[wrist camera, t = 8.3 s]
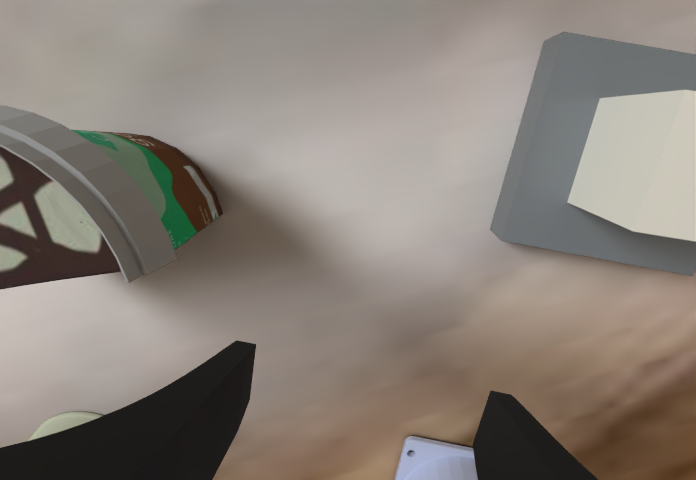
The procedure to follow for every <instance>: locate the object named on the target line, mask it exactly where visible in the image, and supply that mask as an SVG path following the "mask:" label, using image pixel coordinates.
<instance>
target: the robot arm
mask: <svg viewBox="0 0 696 480" xmlns="http://www.w3.org/2000/svg"><path fill="white" fill-rule="evenodd" d="M255 349H256V344H252V343H246V342H241V341H235V342H234V343H232V344H231V345H229V346H228V347H226V348H225V349H223V350H222V351H220V352H219V353H218V354H216V355H215V356H213V357H212V358H210V359H209V360H207V361H206V362H205V363H203V364H201V365H200V366H198V367H197V368H195V369H194V370H192V371H191V372H189V373H188V374H186V375H184V376H183V377H181V378H179V379H178V380H176V381H174V382H173V383H171V384H169V385H168V386H166V387H164V388H162V389H161V390H159V391H157V392H155V393H153V394H151V395H149V396H147V397H145V398H143V399H141V400H139V401H137V402H135V403H133V404H130V405H128V406H126V407H124V408H122V409H119V410H117V411H114V412H112V413H109V414H107V415H104V416H101V417H99V418H96V419H94V420H91V421H89V422H86V423H84V424H81V425H78V426H75V427H72V428H69V429H66V430H63V431H60V432H57V433H53V434H50V435H47V436H44V437H40V438H37V439H33V440H30V441H26V442H22V443H18V444H14V445H10V446H6V447H2V448H0V480H212V479H213V477H214V475H215V473H216V471H217V470H218V468H219V466H220V464H221V462H222V460H223V458H224V456H225V454H226V452H227V451H228V449H229V447H230V445H231V443H232V441H233V439H234V437H235V435H236V433H237V431H238V429H239V426H240V424H241V421H242V419H243V416H244V413H245V411H246V408H247V405H248V403H249V400H250V391H251V383H252V374H253V366H254V358H255ZM409 450H413V452H409ZM394 480H598V479H597V478H596V477H595V476H593V475H592V474H591V473H590V472H589V471H588V470H587V469H586V468H585V467H584V466H583V465H581V464H580V463H579V462H578V461H577V460H576V459H575V458H574V457H573V456H572V455H571V454H570V453H569V452H568V451H567V450H566V449H565V448H564V447H563V446H562V445H561V444H560V443H559V442H558V441H557V440H556V439H555V438H554V437H553V436H552V435H551V434H550V433H549V432H548V431H547V430H546V429H545V428H544V427H543V426H542V425H541V424H540V423H539V422H538V421H537V420H536V419H535V418H534V417H533V416H532V415H531V414H530V413H529V412H528V411H527V410H526V409H525V408H524V407H523V406H522V405H521V404H520V403H519V402H518V401H517V400H516V399H515V398H514V397H513V396H512V395H510V394H505V393H500V392H495V391H490V394H489V397H488V400H487V403H486V406H485V409H484V412H483V415H482V418H481V421H480V424H479V427H478V430H477V433H476V436H475V439H474V442H473V448H470V447H465V446H460V445H455V444H450V443H445V442H440V441H435V440H430V439H425V438H420V437H415V436H410V437H408V438H406V440H405V442H404V445H403V449H402V453H401V457H400V460H399V464H398V468H397V472H396V475H395V479H394Z"/></svg>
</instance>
